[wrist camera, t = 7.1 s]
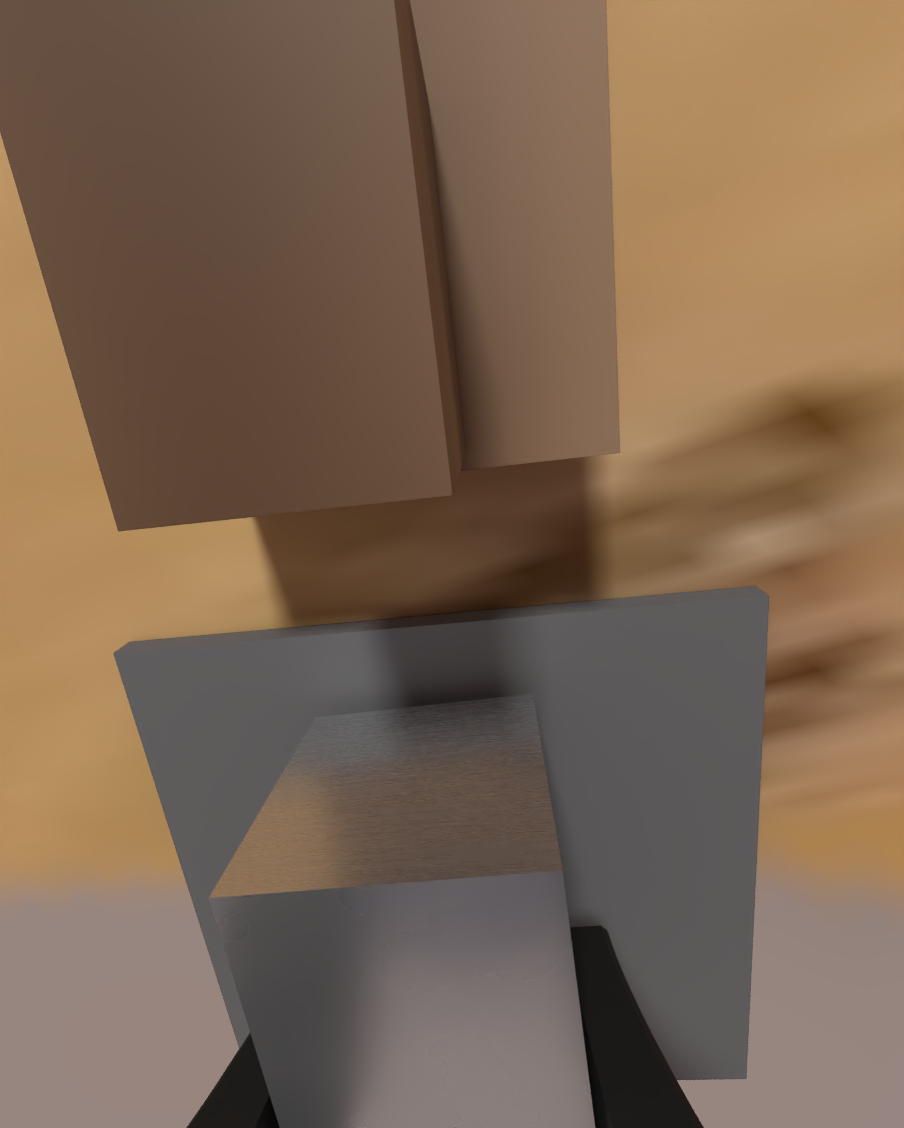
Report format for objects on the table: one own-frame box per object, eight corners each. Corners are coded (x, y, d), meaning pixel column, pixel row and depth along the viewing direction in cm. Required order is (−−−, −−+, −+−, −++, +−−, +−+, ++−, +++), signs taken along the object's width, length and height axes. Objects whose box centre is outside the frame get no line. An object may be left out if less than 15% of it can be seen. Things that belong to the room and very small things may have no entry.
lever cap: (532, 693, 10) (562, 870, 6) (577, 1038, 12) (623, 1344, 8) (315, 717, 10) (208, 897, 6) (392, 1046, 12) (346, 1343, 8)
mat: (755, 586, 10) (769, 595, 9) (736, 1053, 13) (745, 1078, 13) (129, 641, 11) (113, 653, 10) (258, 1062, 14) (251, 1085, 14)
